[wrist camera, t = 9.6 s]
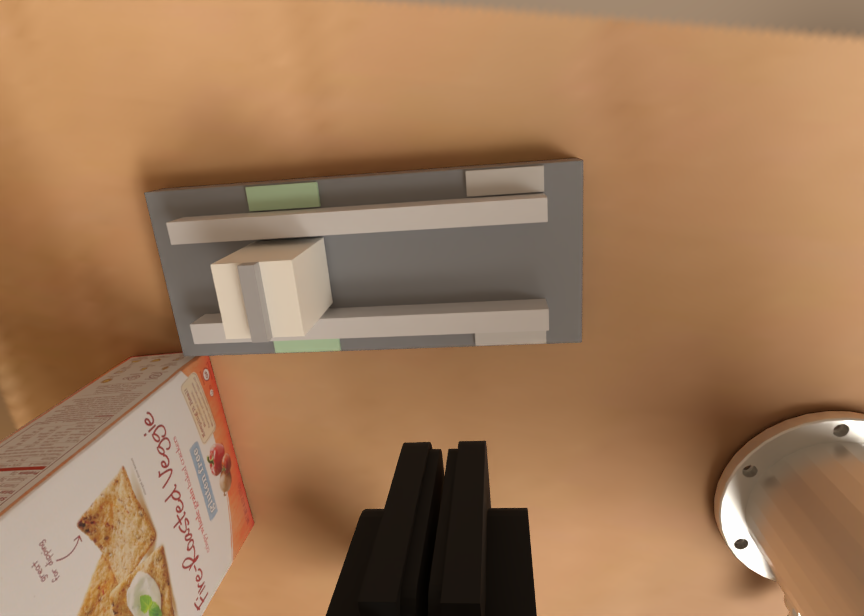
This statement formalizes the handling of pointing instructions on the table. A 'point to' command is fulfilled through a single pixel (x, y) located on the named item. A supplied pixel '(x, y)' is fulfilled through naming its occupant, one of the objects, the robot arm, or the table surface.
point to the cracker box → (122, 497)
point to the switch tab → (272, 288)
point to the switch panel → (392, 255)
